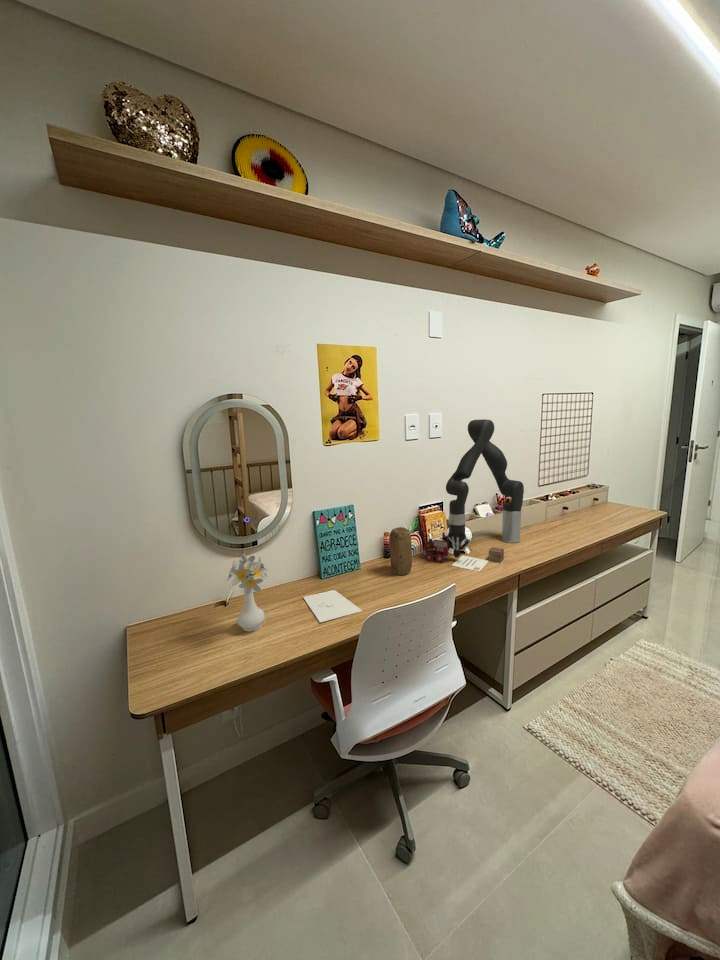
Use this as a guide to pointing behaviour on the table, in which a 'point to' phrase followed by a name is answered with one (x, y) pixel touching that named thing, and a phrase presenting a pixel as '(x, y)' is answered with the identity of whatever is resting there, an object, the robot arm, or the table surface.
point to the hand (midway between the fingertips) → (456, 556)
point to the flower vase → (249, 591)
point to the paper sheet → (330, 605)
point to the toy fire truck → (436, 550)
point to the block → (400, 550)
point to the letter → (470, 563)
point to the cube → (496, 554)
